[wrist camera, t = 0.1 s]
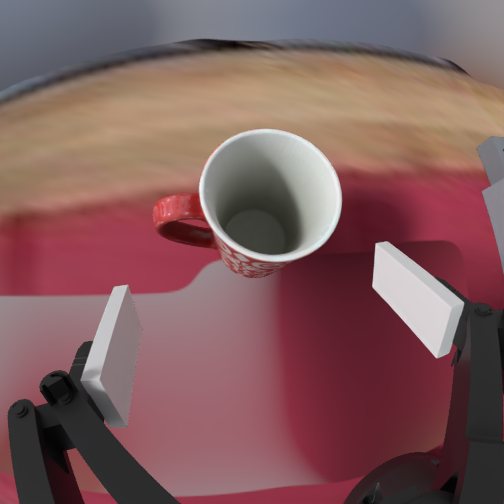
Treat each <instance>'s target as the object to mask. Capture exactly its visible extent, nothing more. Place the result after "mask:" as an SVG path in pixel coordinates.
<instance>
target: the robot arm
mask: <svg viewBox="0 0 504 504" xmlns="http://www.w3.org/2000/svg"><path fill="white" fill-rule="evenodd" d="M372 287H373V288H374V289H375V290H376V291H377V292H378V293H379V295H380V296H381V297H382V298H383V299H384V300H385V301H386V302H387V303H388V304H389V305H390V306H391V307H392V309H393V310H394V311H395V312H396V313H397V314H398V315H399V316H400V317H401V318H402V320H403V321H404V322H405V323H406V324H407V325H408V326H409V327H410V329H411V330H412V331H413V332H414V333H415V334H416V335H417V337H418V338H419V339H420V340H421V341H422V342H423V343H424V345H425V346H426V347H427V348H428V349H429V350H430V351H431V353H432V354H433V355H434V356H435V357H436V358H439V357H442V356H444V355H446V354H449V352H450V349H451V346H452V343H453V344H454V345H455V346H456V347H457V350H456V352H455V355H454V358H453V361H452V364H451V366H453V364H454V375H453V384H452V393H451V401H450V409H449V416H448V422H447V428H446V434H445V439H444V444H443V449H442V454H441V459H439V458H437V457H435V456H433V455H431V454H428V453H421V452H415V453H409V454H404V455H401V456H398V457H396V458H393V459H391V460H389V461H387V462H386V463H383V464H382V465H380V466H379V467H377V468H376V469H374V470H373V471H372V472H370V473H369V474H368V475H367V476H366V477H364V478H363V479H362V480H361V481H360V482H359V483H358V484H357V485H356V487H355V488H354V489H353V490H352V492H351V493H350V494H349V496H348V497H347V499H346V501H345V503H344V504H504V442H503V441H502V430H503V394H504V309H503V310H493V309H492V308H491V307H490V306H489V305H487V304H484V303H474V304H473V303H471V302H470V301H469V300H468V299H467V298H466V297H464V296H463V295H462V294H461V293H459V292H458V291H456V289H454V288H453V287H451V285H450V284H448V283H447V282H446V281H445V280H443V279H440V278H438V277H433V276H431V275H430V274H429V273H428V272H426V271H425V270H424V269H423V268H421V267H420V266H419V265H418V264H416V263H415V262H414V261H412V260H411V259H410V258H409V257H407V256H406V255H405V254H403V253H402V252H401V251H399V250H398V249H397V248H396V247H394V246H393V245H392V244H390V243H389V242H388V241H386V242H380V243H376V246H375V261H374V274H373V285H372ZM141 333H142V326H141V323H140V320H139V317H138V314H137V311H136V308H135V305H134V302H133V299H132V296H131V293H130V290H129V286H128V285H123V286H116V287H114V288H113V291H112V293H111V296H110V298H109V301H108V303H107V306H106V309H105V311H104V314H103V317H102V319H101V322H100V325H99V327H98V330H97V333H96V336H95V338H94V341H88V342H84V343H83V344H82V345H81V346H80V348H79V349H78V351H77V353H76V356H75V359H74V361H73V364H72V365H73V366H72V367H71V369H70V372H69V374H68V373H67V372H65V371H61V370H59V371H54V372H51V373H49V374H48V375H47V376H45V377H44V378H43V380H42V381H41V383H40V386H39V387H40V392H41V393H42V394H43V396H44V397H45V399H46V400H47V402H48V403H46V404H43V405H39V406H36V407H35V406H34V404H33V403H32V402H31V401H30V400H27V399H23V400H18V401H17V402H15V403H14V404H13V405H12V406H11V407H10V409H9V411H8V428H9V439H10V449H11V457H12V464H13V470H14V477H15V483H16V488H17V493H18V498H19V503H20V504H85V503H84V501H83V498H82V495H81V493H80V490H79V487H78V484H77V481H76V479H75V476H74V473H73V470H72V467H71V463H70V460H69V457H68V453H67V450H69V449H73V448H77V450H78V451H79V453H80V454H81V456H82V457H83V459H84V460H85V461H86V463H87V464H88V466H89V467H90V469H91V470H92V471H93V473H94V474H95V475H96V477H97V478H98V479H99V481H100V482H101V483H102V485H103V486H104V487H105V488H106V489H107V491H108V492H109V493H110V495H111V496H112V497H113V498H114V499H115V501H116V502H117V503H118V504H181V503H179V502H178V501H177V500H176V499H175V498H174V497H173V496H172V495H171V494H169V493H168V492H167V491H166V490H165V489H164V488H163V487H162V486H161V485H160V484H159V483H158V482H157V481H156V480H155V479H154V478H153V477H152V476H151V475H150V474H149V473H148V472H147V471H146V470H145V469H144V468H143V467H142V466H141V465H140V464H139V463H138V462H137V461H136V460H135V459H134V458H133V457H132V456H131V455H130V453H129V452H128V451H127V450H126V449H125V448H124V447H123V446H122V445H121V443H120V442H119V441H118V440H117V439H116V438H115V437H114V435H113V434H112V433H111V432H110V431H109V429H108V428H107V427H106V426H105V424H104V419H105V421H106V422H107V424H108V425H109V427H110V428H111V427H127V426H128V417H129V410H130V402H131V395H132V387H133V381H134V374H135V368H136V362H137V356H138V349H139V344H140V339H141Z"/></svg>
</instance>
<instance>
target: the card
mask: <svg viewBox="0 0 504 504" xmlns="http://www.w3.org/2000/svg"><path fill="white" fill-rule="evenodd" d="M482 194H483V197H484V200H485V203H486V207H487V210H488V213H489V216H490V220H491V223H492V227H493V231H494V234H495V238H496V242H497V246H498V250H499V254H500V259H501V263H502V268H503V273H504V178H503V179H502V180H500V181H498V182H497V183H495V184H493V185H492V186H490V187H488V188H487V189H485V190H483V191H482Z"/></svg>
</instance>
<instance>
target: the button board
mask: <svg viewBox="0 0 504 504" xmlns="http://www.w3.org/2000/svg"><path fill="white" fill-rule="evenodd" d="M477 150H478V153H479V155H480V158H481V160H482V163H483V165H484V168H485V170H486V173H487V176H488V178H489V181H490V184H491V186H492V185H493V184H495V183H497V182H498V181H500V180H502V179H503V178H504V137H495V136H491V137H490V138H489V139H487V140H486V141H485V142H484V143H482V144H481V145H480V146H478V147H477Z"/></svg>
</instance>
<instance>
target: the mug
mask: <svg viewBox="0 0 504 504" xmlns="http://www.w3.org/2000/svg"><path fill="white" fill-rule="evenodd" d="M341 208H342V191H341V186H340V182H339V179H338V176H337V174H336V172H335V169H334V168H333V166H332V164H331V163H330V161H329V160H328V159H327V157H326V156H325V155H324V154H323V153H322V152H321V151H320V150H319V149H318V148H317V147H316V146H315V145H313V144H312V143H310V142H309V141H307V140H306V139H304V138H302V137H300V136H298V135H296V134H293V133H290V132H287V131H283V130H277V129H254V130H249V131H245V132H242V133H239V134H236V135H234V136H232V137H230V138H229V139H227V140H226V141H224V142H223V143H222V144H220V145H219V146H218V147H217V148H216V149H215V150H214V151H213V152H212V154H211V155H210V156H209V158H208V160H207V161H206V163H205V165H204V168H203V171H202V174H201V178H200V184H199V193H198V194H197V193H185V194H176V195H171V196H168V197H165V198H163V199H161V200H159V201H158V202H157V203H156V204H155V206H154V208H153V221H154V227H155V229H156V231H157V233H158V234H159V235H161V236H162V237H164V238H166V239H168V240H171V241H174V242H177V243H182V244H186V245H191V246H197V247H204V248H213V249H216V250H218V252H219V254H220V257H221V259H222V260H223V262H224V263H225V264H226V266H227V267H228V268H230V269H231V270H232V271H233V272H235V273H237V274H239V275H241V276H245V277H249V278H260V277H265V276H267V275H270V274H272V273H274V272H276V271H277V270H279V269H281V268H282V267H284V266H286V265H287V264H289V263H290V262H292V261H294V260H298V259H301V258H303V257H305V256H308V255H310V254H312V253H313V252H315V251H316V250H318V249H319V248H320V247H321V246H322V245H323V244H325V243H326V241H327V240H328V239H329V238H330V237H331V235H332V234H333V232H334V230H335V228H336V226H337V224H338V221H339V218H340V214H341ZM186 219H197V220H202V221H204V222H206V224H207V225H209V226H210V227H211V228H202V227H198V226H193V225H190V224H186V223H183V222H179V221H178V220H186Z"/></svg>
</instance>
